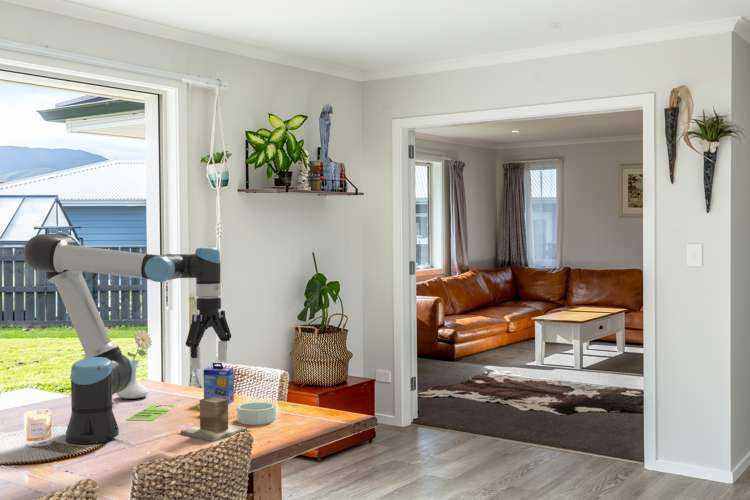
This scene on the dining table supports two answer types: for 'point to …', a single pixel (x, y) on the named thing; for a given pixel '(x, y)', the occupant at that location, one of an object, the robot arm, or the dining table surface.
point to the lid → (213, 421)
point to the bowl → (256, 413)
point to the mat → (205, 439)
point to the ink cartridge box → (219, 382)
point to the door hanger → (149, 414)
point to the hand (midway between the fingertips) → (209, 365)
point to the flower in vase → (135, 387)
